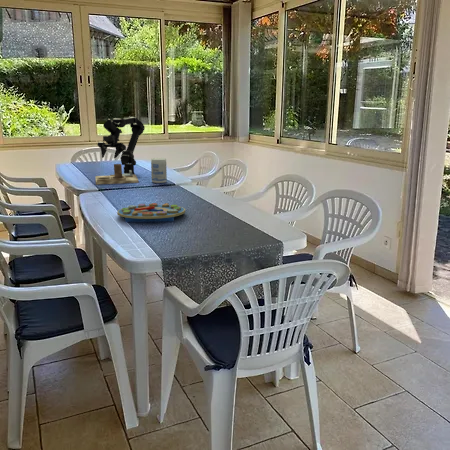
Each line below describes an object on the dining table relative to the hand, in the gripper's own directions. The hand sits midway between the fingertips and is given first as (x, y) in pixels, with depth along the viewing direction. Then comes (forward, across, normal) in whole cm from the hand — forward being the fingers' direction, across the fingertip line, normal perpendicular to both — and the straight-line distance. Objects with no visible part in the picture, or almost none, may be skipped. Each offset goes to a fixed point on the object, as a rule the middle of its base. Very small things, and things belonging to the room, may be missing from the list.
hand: (108, 157), depth 285 cm
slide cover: (+6, +8, +13) cm, 16 cm away
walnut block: (+13, +10, +2) cm, 17 cm away
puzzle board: (+13, +6, +6) cm, 15 cm away
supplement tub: (+10, +34, +11) cm, 37 cm away
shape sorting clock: (+50, +71, -52) cm, 101 cm away
